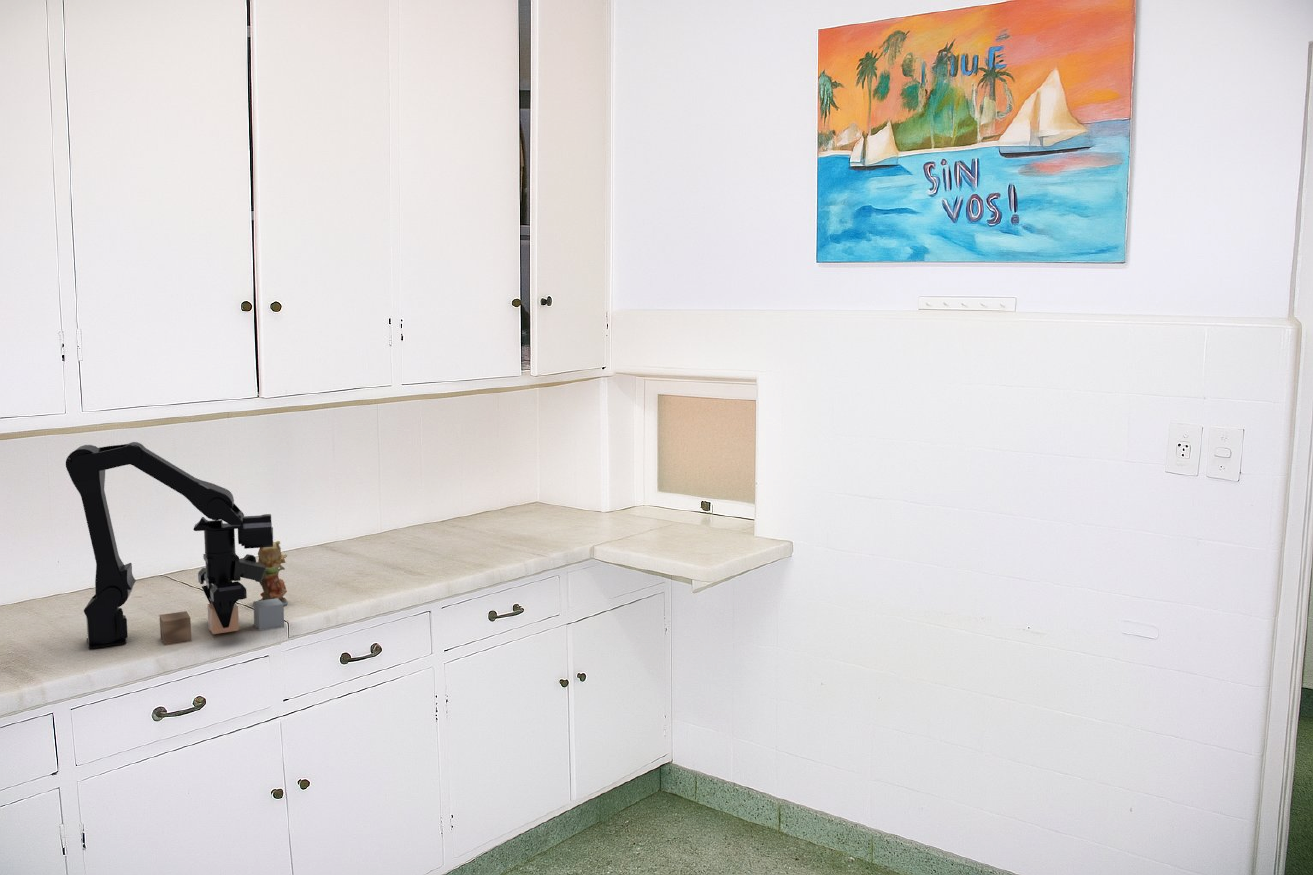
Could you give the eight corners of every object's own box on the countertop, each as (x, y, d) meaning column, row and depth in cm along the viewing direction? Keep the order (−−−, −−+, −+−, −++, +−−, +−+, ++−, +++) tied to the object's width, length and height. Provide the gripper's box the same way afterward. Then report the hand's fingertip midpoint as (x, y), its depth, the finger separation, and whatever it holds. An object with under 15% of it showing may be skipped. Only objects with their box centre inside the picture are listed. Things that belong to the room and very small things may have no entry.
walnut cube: (164, 645, 202) (162, 621, 202) (160, 638, 207) (159, 614, 206) (191, 641, 205) (190, 617, 204) (187, 634, 209) (186, 611, 209)
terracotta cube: (212, 634, 207) (211, 610, 207) (208, 627, 211) (207, 604, 211) (238, 630, 210) (238, 606, 209) (234, 623, 214) (233, 600, 213)
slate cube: (259, 630, 212) (258, 607, 212) (254, 624, 216) (253, 601, 216) (284, 627, 215) (283, 604, 214) (278, 620, 219) (277, 598, 218)
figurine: (293, 600, 234) (291, 536, 232) (282, 610, 226) (280, 544, 224) (253, 599, 233) (250, 535, 231) (241, 609, 226) (238, 543, 224)
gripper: (271, 555, 205) (274, 630, 207) (252, 536, 221) (254, 606, 223) (212, 562, 199) (215, 639, 201) (196, 542, 215) (199, 614, 217)
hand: (223, 623), depth 211 cm, fingers closed on terracotta cube, 5 cm apart
